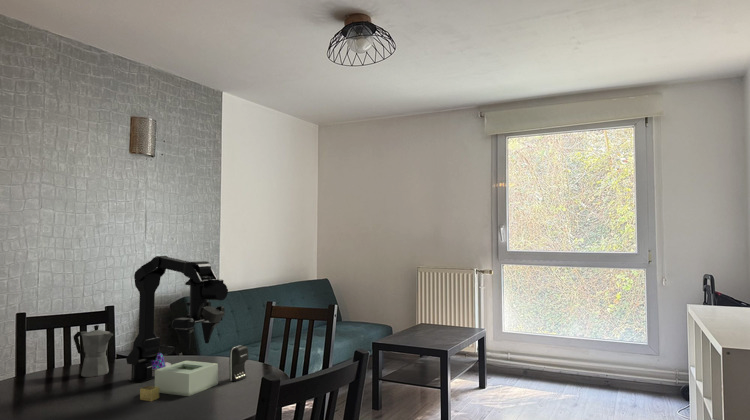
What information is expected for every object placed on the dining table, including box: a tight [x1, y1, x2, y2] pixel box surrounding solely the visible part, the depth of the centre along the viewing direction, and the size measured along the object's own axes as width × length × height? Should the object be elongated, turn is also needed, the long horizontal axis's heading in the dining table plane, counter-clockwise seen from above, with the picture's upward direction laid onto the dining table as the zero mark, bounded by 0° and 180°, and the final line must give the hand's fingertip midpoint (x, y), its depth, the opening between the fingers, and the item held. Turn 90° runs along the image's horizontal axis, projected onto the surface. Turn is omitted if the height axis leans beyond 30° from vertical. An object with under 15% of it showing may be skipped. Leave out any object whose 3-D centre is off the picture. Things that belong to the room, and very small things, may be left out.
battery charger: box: [229, 345, 249, 382], centre depth 178 cm, size 7×4×11 cm, turn 159°
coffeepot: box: [73, 324, 114, 378], centre depth 187 cm, size 15×9×18 cm, turn 85°
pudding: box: [152, 352, 172, 371], centre depth 196 cm, size 12×12×5 cm
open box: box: [154, 360, 219, 397], centre depth 167 cm, size 14×14×7 cm
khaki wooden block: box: [139, 385, 160, 402], centre depth 156 cm, size 4×3×4 cm
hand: (197, 346), depth 167 cm, fingers open, 9 cm apart
